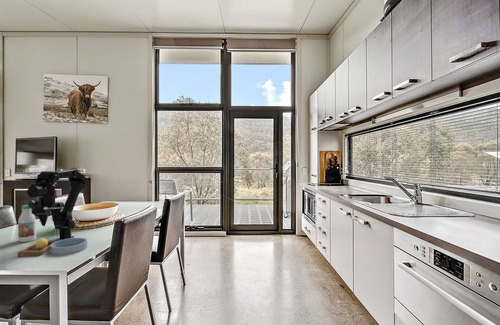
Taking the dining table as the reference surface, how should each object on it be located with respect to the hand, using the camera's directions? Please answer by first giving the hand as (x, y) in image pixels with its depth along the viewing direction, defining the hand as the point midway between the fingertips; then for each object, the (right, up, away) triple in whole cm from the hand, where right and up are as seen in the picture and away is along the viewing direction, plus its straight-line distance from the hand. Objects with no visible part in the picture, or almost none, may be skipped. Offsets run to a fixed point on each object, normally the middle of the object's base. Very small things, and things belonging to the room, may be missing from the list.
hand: (49, 223), depth 143 cm
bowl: (+15, -12, -6) cm, 20 cm away
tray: (+1, -12, -8) cm, 14 cm away
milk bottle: (-20, -12, +10) cm, 25 cm away
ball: (+1, -11, -8) cm, 13 cm away
